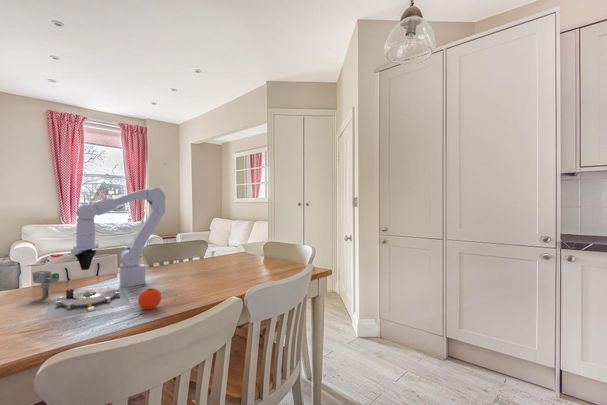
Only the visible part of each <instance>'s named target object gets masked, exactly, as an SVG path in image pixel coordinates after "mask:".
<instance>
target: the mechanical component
mask: <svg viewBox="0 0 607 405" xmlns="http://www.w3.org/2000/svg"><path fill="white" fill-rule="evenodd" d="M31 275H32V282H33V283H34V284H41V285H40V289H42V298H48V297H49V289H50V287H51V285H52V284H55V283H58V282H59V280H60V274H59V273H57V272H52V271H47V270H37V271H34V272H32V274H31Z"/></svg>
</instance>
